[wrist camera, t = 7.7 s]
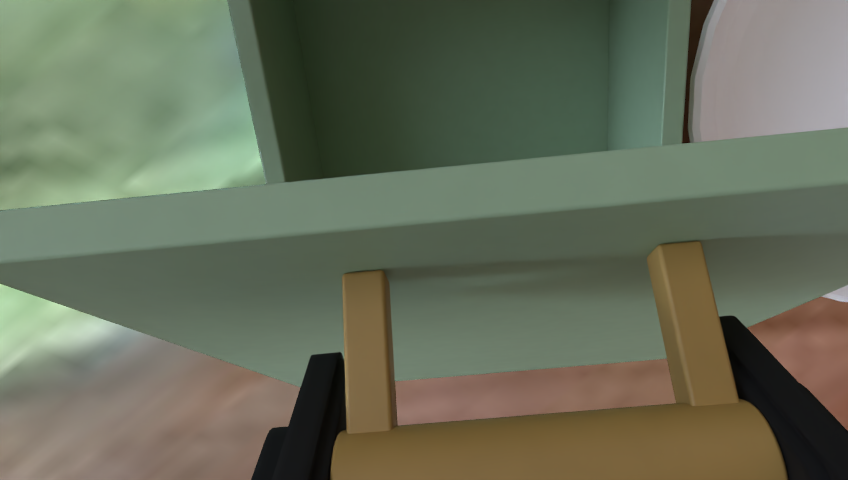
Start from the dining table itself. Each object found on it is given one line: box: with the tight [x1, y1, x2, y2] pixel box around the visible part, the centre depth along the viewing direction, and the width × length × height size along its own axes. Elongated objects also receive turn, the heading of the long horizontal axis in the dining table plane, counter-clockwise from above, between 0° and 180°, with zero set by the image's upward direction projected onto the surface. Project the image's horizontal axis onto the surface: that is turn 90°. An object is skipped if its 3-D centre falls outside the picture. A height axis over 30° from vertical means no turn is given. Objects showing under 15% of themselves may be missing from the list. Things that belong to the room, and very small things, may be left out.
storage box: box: [227, 0, 691, 184], centre depth 26 cm, size 18×16×8 cm
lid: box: [0, 127, 848, 480], centre depth 16 cm, size 18×16×5 cm
